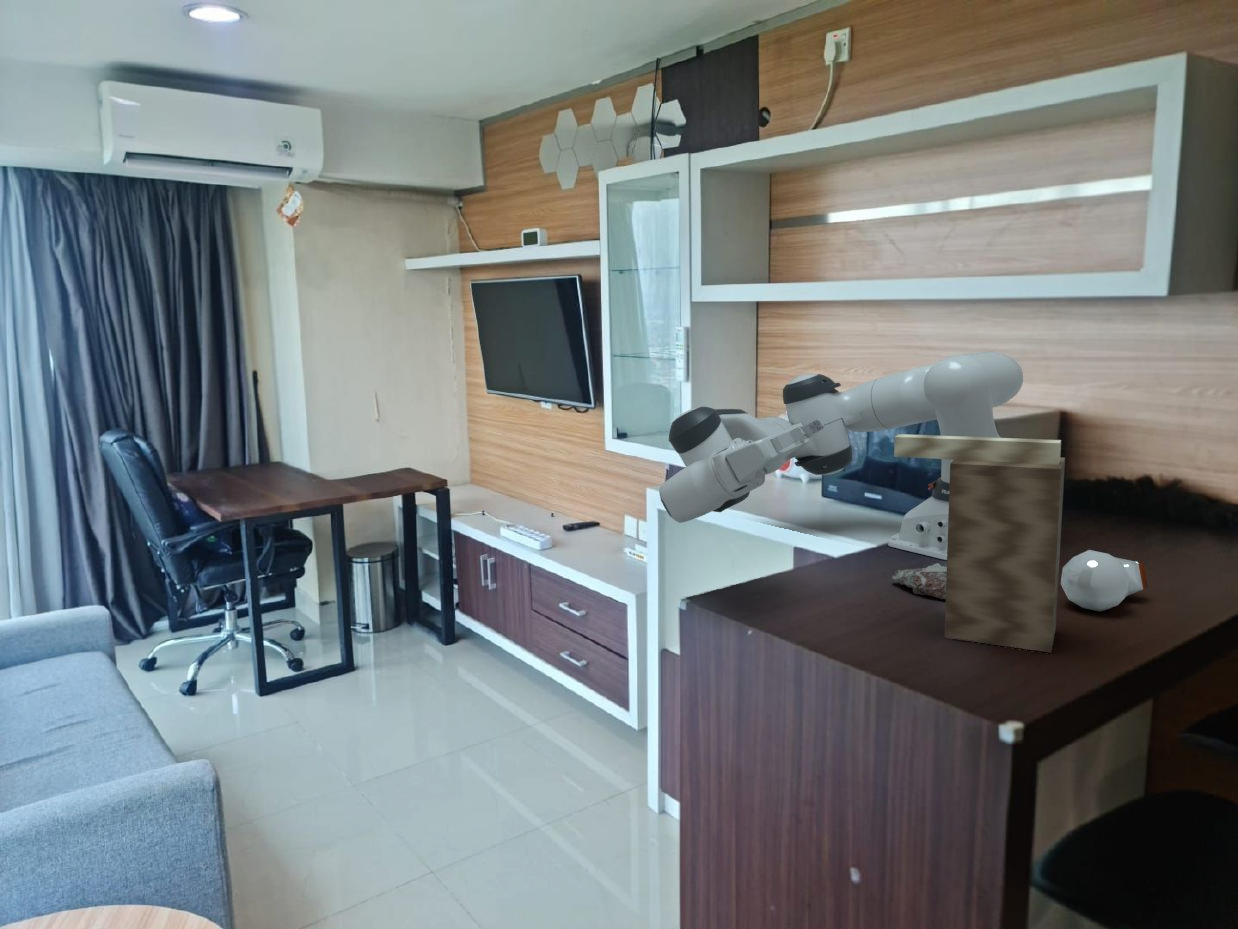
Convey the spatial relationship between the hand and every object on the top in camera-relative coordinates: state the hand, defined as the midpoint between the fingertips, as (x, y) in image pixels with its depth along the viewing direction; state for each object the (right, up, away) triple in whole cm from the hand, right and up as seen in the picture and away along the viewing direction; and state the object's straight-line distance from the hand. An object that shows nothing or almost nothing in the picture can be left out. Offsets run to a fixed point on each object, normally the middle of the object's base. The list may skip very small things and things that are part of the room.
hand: (812, 426), depth 136 cm
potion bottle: (+47, -29, +2) cm, 55 cm away
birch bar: (+21, -5, -11) cm, 24 cm away
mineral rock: (+23, -28, +11) cm, 38 cm away
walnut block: (+26, -31, -9) cm, 41 cm away
